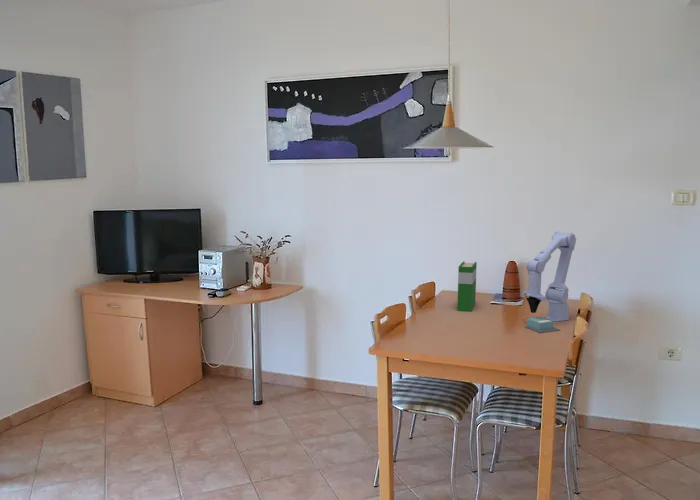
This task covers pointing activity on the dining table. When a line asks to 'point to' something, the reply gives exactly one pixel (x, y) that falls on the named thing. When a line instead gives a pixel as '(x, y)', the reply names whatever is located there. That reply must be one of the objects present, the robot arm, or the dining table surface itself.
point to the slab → (540, 323)
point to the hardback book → (466, 286)
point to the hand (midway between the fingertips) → (533, 312)
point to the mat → (542, 330)
